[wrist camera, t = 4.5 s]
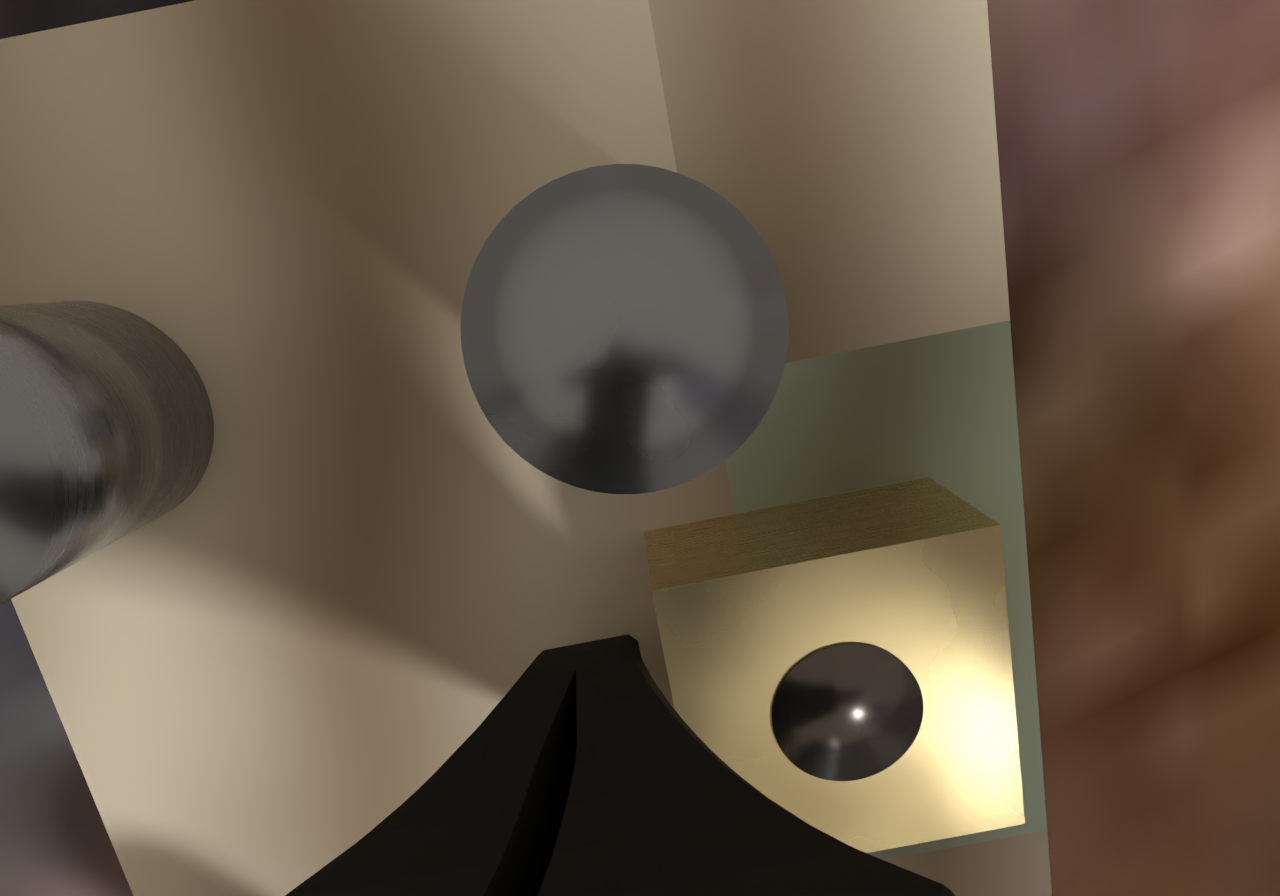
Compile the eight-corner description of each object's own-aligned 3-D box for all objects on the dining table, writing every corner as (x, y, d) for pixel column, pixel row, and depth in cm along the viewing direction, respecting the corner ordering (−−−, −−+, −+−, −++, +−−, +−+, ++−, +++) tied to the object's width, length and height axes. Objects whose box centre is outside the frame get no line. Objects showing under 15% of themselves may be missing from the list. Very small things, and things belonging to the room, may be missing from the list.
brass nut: (928, 477, 11) (1001, 525, 9) (955, 729, 12) (1026, 826, 10) (644, 531, 11) (651, 592, 9) (693, 778, 12) (709, 884, 10)
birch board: (933, -107, 10) (975, -155, 9) (1030, 1030, 14) (1066, 1097, 13) (-110, 100, 10) (-204, 79, 9) (302, 1160, 15) (275, 1238, 13)
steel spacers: (972, 124, 10) (1129, 62, 7) (1049, 1101, 13) (1171, 1336, 10) (-61, 325, 10) (-352, 350, 7) (302, 1233, 13) (215, 1502, 10)
